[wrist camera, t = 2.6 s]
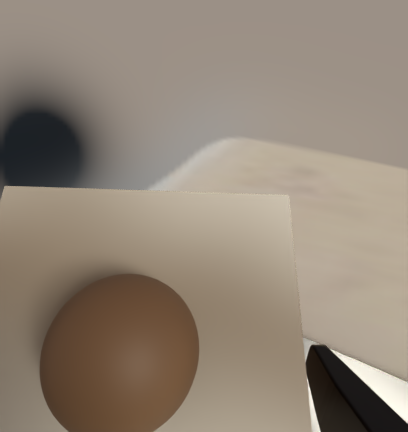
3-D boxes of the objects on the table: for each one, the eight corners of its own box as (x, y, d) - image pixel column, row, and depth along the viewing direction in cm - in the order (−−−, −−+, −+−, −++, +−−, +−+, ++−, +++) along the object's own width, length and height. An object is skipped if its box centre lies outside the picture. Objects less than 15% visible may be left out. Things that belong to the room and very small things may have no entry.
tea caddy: (221, 379, 16) (432, 784, 2) (126, 378, 16) (-376, 815, 2) (221, 283, 18) (328, 143, 4) (136, 281, 18) (-75, 128, 4)
